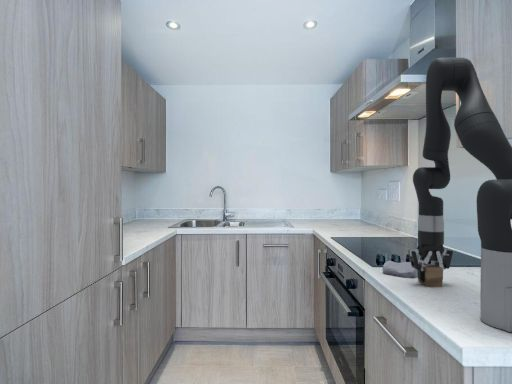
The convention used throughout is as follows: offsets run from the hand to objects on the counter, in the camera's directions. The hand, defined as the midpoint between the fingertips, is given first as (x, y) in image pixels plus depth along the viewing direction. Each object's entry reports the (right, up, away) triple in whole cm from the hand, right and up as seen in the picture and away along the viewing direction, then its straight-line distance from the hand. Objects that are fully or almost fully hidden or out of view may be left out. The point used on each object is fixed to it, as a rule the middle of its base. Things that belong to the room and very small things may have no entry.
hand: (430, 281), depth 105 cm
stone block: (-4, -1, +13) cm, 14 cm away
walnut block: (0, -1, 0) cm, 1 cm away
